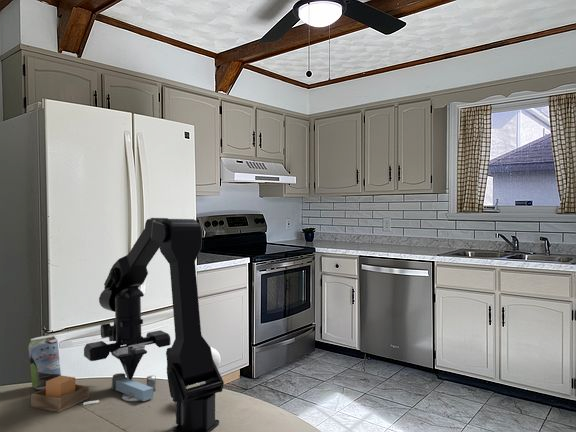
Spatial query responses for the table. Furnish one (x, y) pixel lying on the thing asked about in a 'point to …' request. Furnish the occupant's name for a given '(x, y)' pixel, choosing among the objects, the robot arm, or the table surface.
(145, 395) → the crank
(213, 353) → the lightbulb
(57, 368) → the printed food package
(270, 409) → the table surface
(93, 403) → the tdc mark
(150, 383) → the post
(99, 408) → the table surface
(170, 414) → the table surface
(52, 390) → the block
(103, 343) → the robot arm
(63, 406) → the tray
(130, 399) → the plate
